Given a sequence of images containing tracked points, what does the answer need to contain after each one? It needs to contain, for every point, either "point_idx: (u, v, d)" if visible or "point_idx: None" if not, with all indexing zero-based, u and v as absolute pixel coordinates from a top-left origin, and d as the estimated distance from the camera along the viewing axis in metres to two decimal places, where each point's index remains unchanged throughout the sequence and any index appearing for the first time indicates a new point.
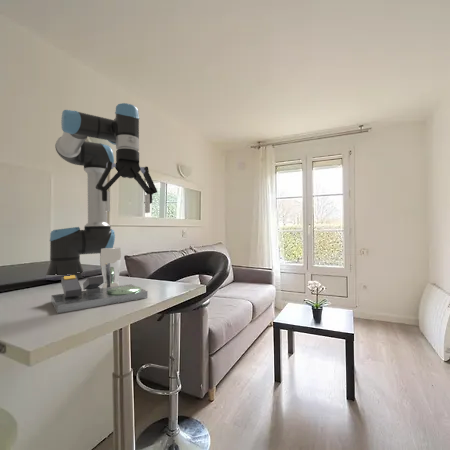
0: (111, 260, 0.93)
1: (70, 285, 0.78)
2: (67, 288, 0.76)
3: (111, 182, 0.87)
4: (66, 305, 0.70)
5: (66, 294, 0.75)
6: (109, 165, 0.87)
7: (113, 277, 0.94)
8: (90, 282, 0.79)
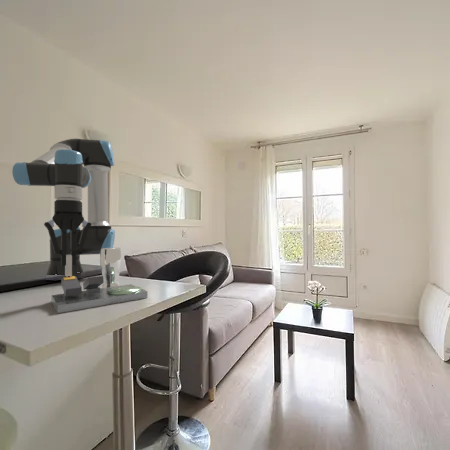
0: (111, 260, 0.93)
1: (70, 284, 0.78)
2: (67, 286, 0.76)
3: (64, 243, 0.82)
4: (66, 305, 0.70)
5: (66, 292, 0.75)
6: (48, 226, 0.79)
7: (113, 277, 0.94)
8: (90, 282, 0.79)
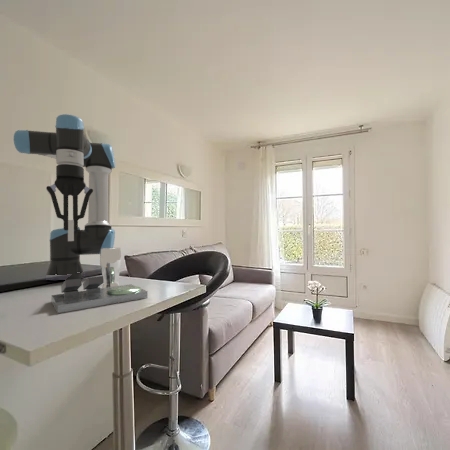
0: (111, 260, 0.93)
1: None
2: None
3: (65, 208, 0.82)
4: (66, 305, 0.70)
5: (66, 284, 0.75)
6: (50, 190, 0.80)
7: (113, 277, 0.94)
8: (90, 282, 0.79)
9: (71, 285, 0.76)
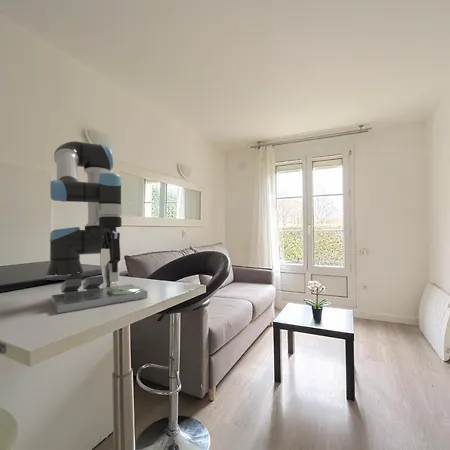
0: None
1: None
2: None
3: None
4: (66, 305, 0.70)
5: (66, 284, 0.75)
6: (102, 236, 1.00)
7: None
8: (90, 282, 0.79)
9: (71, 285, 0.76)
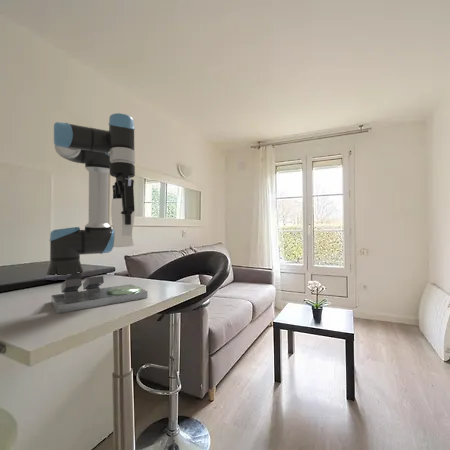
0: None
1: None
2: None
3: None
4: (66, 305, 0.70)
5: (66, 284, 0.75)
6: (113, 189, 0.89)
7: None
8: (90, 282, 0.79)
9: (71, 285, 0.76)
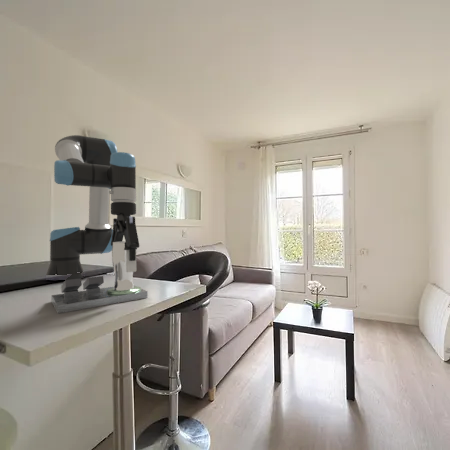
0: (125, 255, 0.81)
1: None
2: None
3: (114, 239, 0.88)
4: (66, 305, 0.70)
5: (66, 284, 0.75)
6: (113, 222, 0.89)
7: (126, 275, 0.82)
8: (90, 282, 0.79)
9: (71, 285, 0.76)
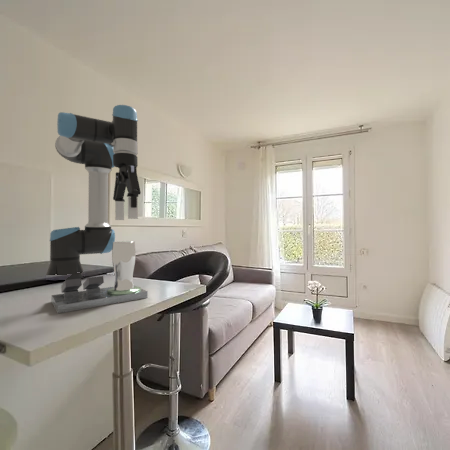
0: (125, 255, 0.82)
1: None
2: None
3: (116, 192, 0.91)
4: (66, 305, 0.70)
5: (66, 284, 0.75)
6: (116, 176, 0.92)
7: (126, 275, 0.82)
8: (90, 282, 0.79)
9: (71, 285, 0.76)
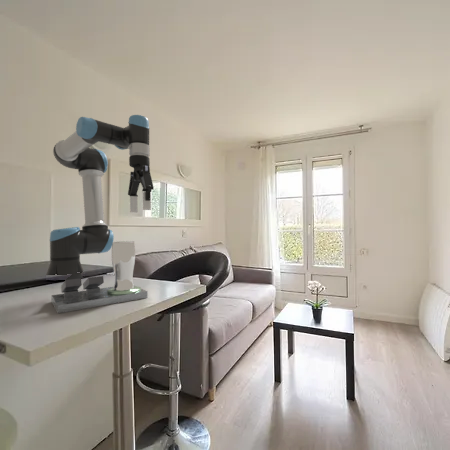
0: (125, 255, 0.81)
1: None
2: None
3: (131, 188, 1.07)
4: (66, 305, 0.70)
5: (66, 284, 0.75)
6: (130, 175, 1.08)
7: (126, 275, 0.82)
8: (90, 282, 0.79)
9: (71, 285, 0.76)
